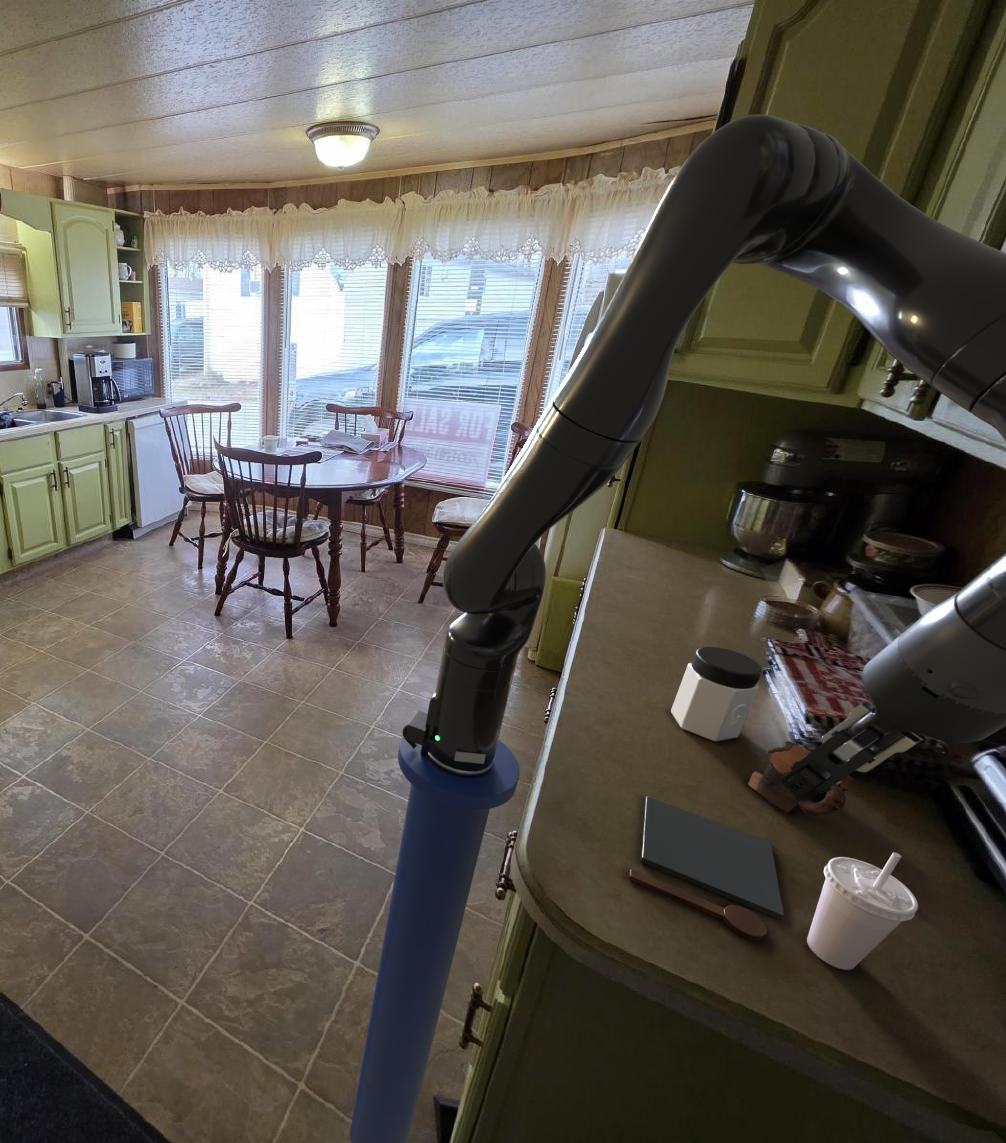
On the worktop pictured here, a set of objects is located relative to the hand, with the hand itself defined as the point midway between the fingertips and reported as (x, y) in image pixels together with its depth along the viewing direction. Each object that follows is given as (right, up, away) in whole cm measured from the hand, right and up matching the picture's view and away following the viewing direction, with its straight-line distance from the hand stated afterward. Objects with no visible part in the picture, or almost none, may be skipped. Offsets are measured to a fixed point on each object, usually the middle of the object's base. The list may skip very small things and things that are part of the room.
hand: (825, 768), depth 54 cm
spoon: (-3, -19, +12) cm, 23 cm away
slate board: (+3, -16, +18) cm, 25 cm away
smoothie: (+8, -21, +8) cm, 24 cm away
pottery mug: (+22, -13, +27) cm, 37 cm away
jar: (+21, -7, +42) cm, 48 cm away
